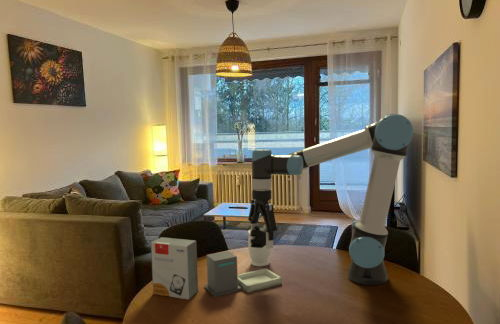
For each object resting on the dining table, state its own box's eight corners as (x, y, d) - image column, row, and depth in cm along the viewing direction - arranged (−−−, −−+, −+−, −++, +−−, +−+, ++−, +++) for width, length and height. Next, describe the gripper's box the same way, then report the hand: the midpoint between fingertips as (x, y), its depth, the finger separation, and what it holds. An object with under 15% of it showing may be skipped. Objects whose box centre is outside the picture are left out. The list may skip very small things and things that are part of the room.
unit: (241, 290, 141) (240, 256, 140) (214, 297, 136) (213, 262, 135) (230, 281, 150) (229, 249, 149) (204, 287, 145) (203, 254, 143)
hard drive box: (152, 294, 139) (149, 242, 138) (163, 286, 147) (161, 236, 145) (189, 300, 134) (186, 245, 132) (199, 291, 141) (196, 239, 140)
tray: (281, 283, 146) (281, 277, 145) (247, 292, 139) (247, 286, 138) (266, 273, 156) (266, 268, 156) (233, 281, 149) (233, 275, 149)
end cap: (268, 249, 142) (268, 231, 141) (250, 247, 144) (250, 230, 143) (273, 241, 152) (273, 224, 151) (256, 240, 153) (256, 223, 153)
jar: (257, 258, 176) (256, 226, 175) (276, 262, 170) (275, 229, 169) (244, 265, 167) (243, 232, 166) (263, 269, 161) (262, 235, 160)
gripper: (286, 193, 136) (286, 251, 138) (256, 184, 158) (256, 234, 160) (268, 194, 133) (268, 254, 135) (239, 185, 154) (240, 237, 156)
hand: (261, 243), depth 147 cm, fingers closed on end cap, 12 cm apart
